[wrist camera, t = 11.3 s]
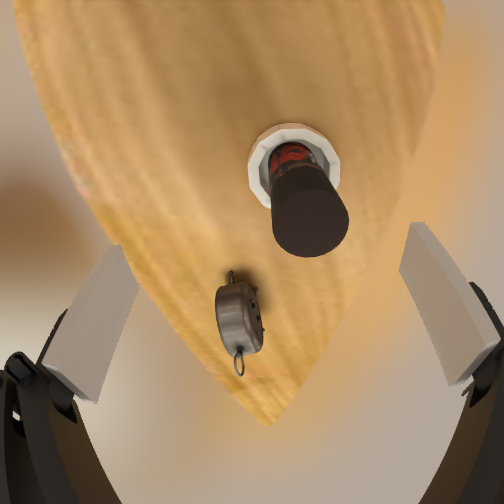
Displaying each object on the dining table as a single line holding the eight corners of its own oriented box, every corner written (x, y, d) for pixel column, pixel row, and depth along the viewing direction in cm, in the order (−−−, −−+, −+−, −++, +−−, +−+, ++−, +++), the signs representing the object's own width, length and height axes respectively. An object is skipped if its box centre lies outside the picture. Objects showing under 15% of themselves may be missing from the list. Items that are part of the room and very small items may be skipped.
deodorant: (322, 151, 32) (362, 205, 20) (304, 192, 35) (328, 265, 23) (277, 134, 31) (289, 178, 19) (261, 177, 34) (261, 245, 22)
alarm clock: (218, 267, 44) (203, 355, 31) (251, 261, 43) (247, 350, 30) (238, 313, 50) (232, 393, 37) (267, 308, 49) (268, 390, 36)
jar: (245, 125, 31) (243, 131, 28) (331, 122, 30) (340, 128, 27) (253, 201, 37) (252, 216, 34) (330, 197, 36) (337, 212, 33)
